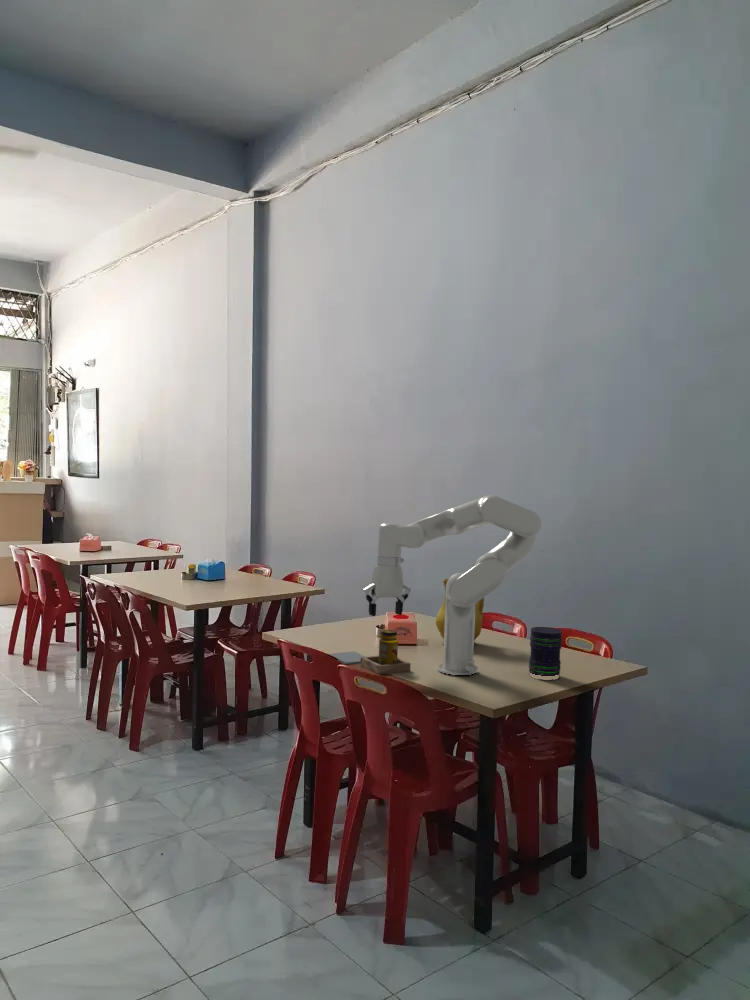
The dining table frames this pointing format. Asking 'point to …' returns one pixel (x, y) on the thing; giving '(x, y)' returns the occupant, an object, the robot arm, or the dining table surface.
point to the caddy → (384, 669)
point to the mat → (348, 657)
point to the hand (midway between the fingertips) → (385, 614)
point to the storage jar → (545, 651)
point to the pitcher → (478, 616)
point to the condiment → (388, 647)
